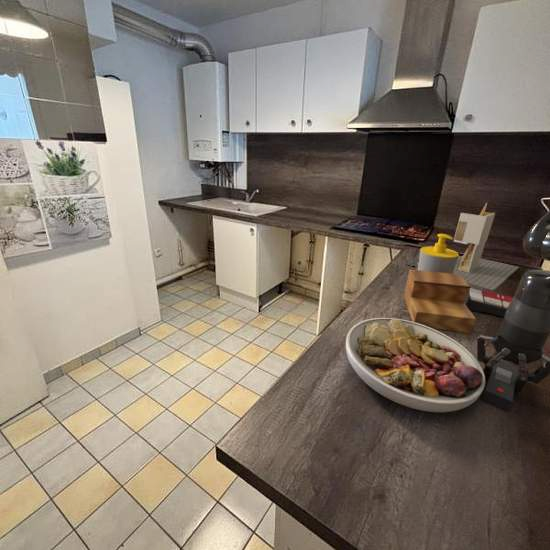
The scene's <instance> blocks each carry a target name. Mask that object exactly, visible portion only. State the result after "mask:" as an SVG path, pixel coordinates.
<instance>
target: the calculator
mask: <svg viewBox="0 0 550 550" xmlns="http://www.w3.org/2000/svg"><path fill="white" fill-rule="evenodd" d="M513 297H514V296H508V295H505V294H500V293H496V292H492V291H487V290H480V289H477V288H472V287H471V288H469V290H468V293H467V296H466V300H465V305H466V306H467V307H468V309H469V310H470V311H471V312H477V313H480V312H483V313H487V314H491V315H495V316H499V317H502V318H504V316H505V313H506V311H507V309H508V306H509V304H510V302H511V301H512V299H513Z"/></svg>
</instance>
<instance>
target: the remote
mask: <svg viewBox="0 0 550 550" xmlns="http://www.w3.org/2000/svg"><path fill="white" fill-rule="evenodd" d="M518 371H519V366H517V365H515V364H511V363H508V362H506V361H504V360H501V361H500V362H498V363H496V364H495V365H494V366H493V370H492V372H491V374H490V376H489V379H488V381H486V383H485V386H484V390H483V391H484V392H483V394H482V399H481V400H482V401H483V402H486V403H488V404H489V405H492V406H495V407H496V408H499V409H501V410H503V411H505V412H509V411H510V409H511V407H512V404H513V401H514V396H515V395H514V394H515V393H514V389H515V383H516V379H517V377H518Z"/></svg>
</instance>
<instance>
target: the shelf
mask: <svg viewBox="0 0 550 550" xmlns="http://www.w3.org/2000/svg"><path fill="white" fill-rule="evenodd" d="M408 270H409V271H408V275H407V280H406V284H405V290H404V293H403V294H404V295H403V299H404V301H405V304H406V308H407V311H408V313H409V317H410V320H411V321H412V322H415V323H419V324H422V325H425V326H427V327H430V328H432V329H435V330H444V331H449V332H458V333H463V334H464V333H466V334H472V333H473V330H474V326H475V323H476V321H477V319H476V317H475V316H474V314H473V312H472V311H471V310H469V309H468V307H467V306H466V305H465V300H466V296H467V293H468V290H469V288H472V287H471V286H470V285H469V283H466V282H465V280H464V279H463V278H462V277H461V276H460V275H459V274H451V273H441V272H430V271H420V270H417V269H408Z"/></svg>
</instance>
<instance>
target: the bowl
mask: <svg viewBox="0 0 550 550" xmlns="http://www.w3.org/2000/svg"><path fill="white" fill-rule="evenodd" d="M345 352H346V356H347V359H348V362H349V363H350V366H351V367H352V369H353V370H354V372H355V373H356V374H357V375H358V377H359V378H360V379H361V380H362V381H363V382H364V383H365V384H366V385H367V386H368V387H370V388H371V389H372V390H373V391H375V392H376V393H378V394H380V395H381V396H383V397H385V398H387V400H391V401H392V402H394V403H396V404H399V405H401V406H404V407H407V408H410V409H414V410H418V411H421V412H428V413H449V412H456V411H461V410H463V409H465V408H467V407H469V406H471V405H472V404H473V403H475V402H476V401H477V400H478V399H479V398H480V396H481V395H482V393H483V391H484V390H485V387H486V380H485V375H484V372H483V370H484V369H483V368H482V366H481V364H480V362H479V361H478V359H477V358H476V357H475V356H474V355H473V354H472V353H471V352H470V351H469V350H468V349H467V348H466V347H465V346H463V345H462V344H461V343H460V342H458V341H456V340H455V339H453V338H452V337H450V336H448V335H447V334H444V333H443V332H441V331H439V330H438V329H435V328H430V327H427V326H425V325H422V324H419V323H415V322H412V320H408V319H401V318H396V317H374V318H367V319H364V320H361V321H358V322H357V323H356V324H354V325H353V326H352V327H351V328H350V329H349V331H348V333H347V335H346V339H345Z"/></svg>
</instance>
